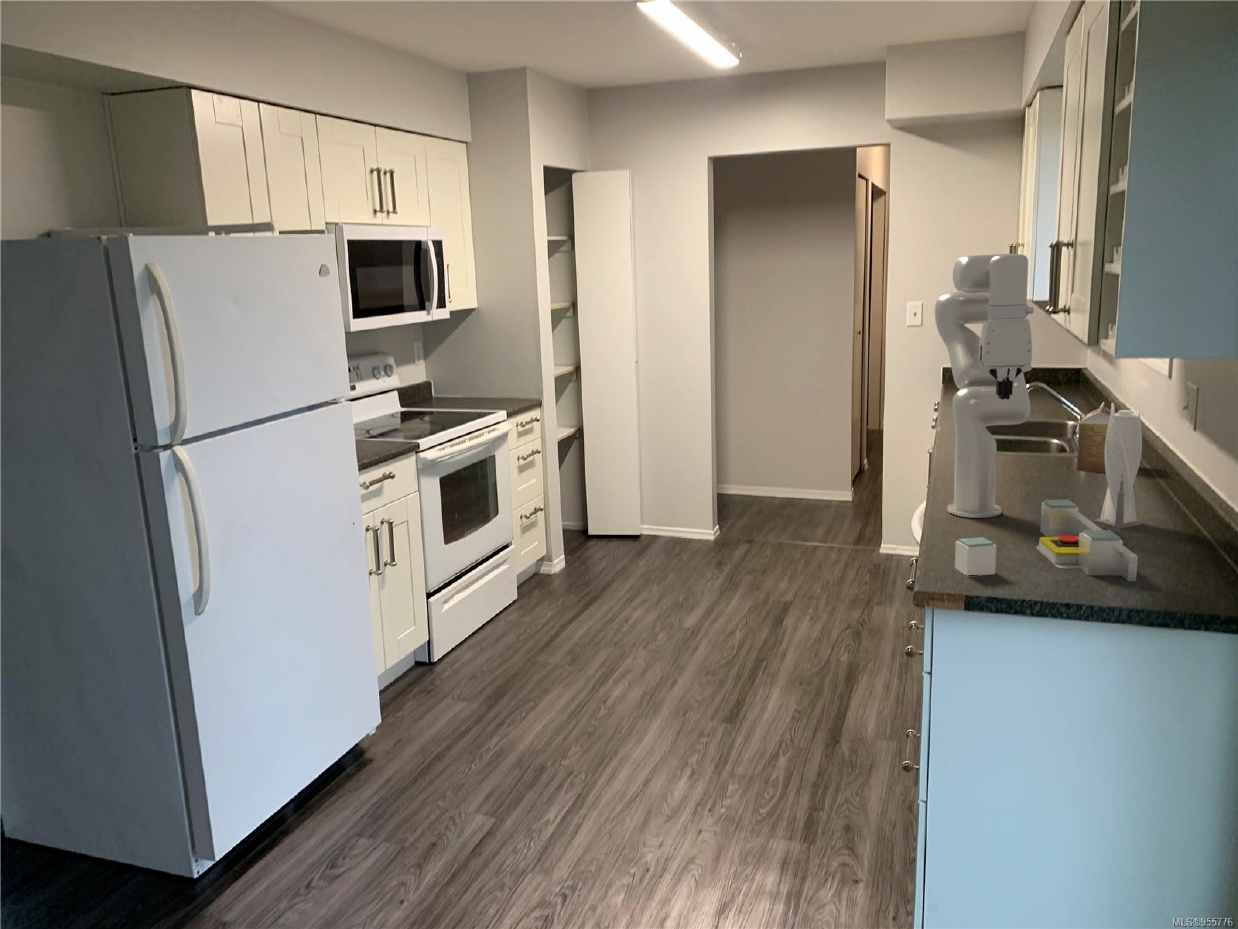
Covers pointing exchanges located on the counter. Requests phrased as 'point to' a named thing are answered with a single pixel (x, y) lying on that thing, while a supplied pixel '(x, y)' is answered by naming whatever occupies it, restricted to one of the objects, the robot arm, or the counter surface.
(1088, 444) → the milk carton
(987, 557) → the block
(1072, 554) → the emergency button
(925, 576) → the counter surface
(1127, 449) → the skyscraper
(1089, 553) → the rail fixture
